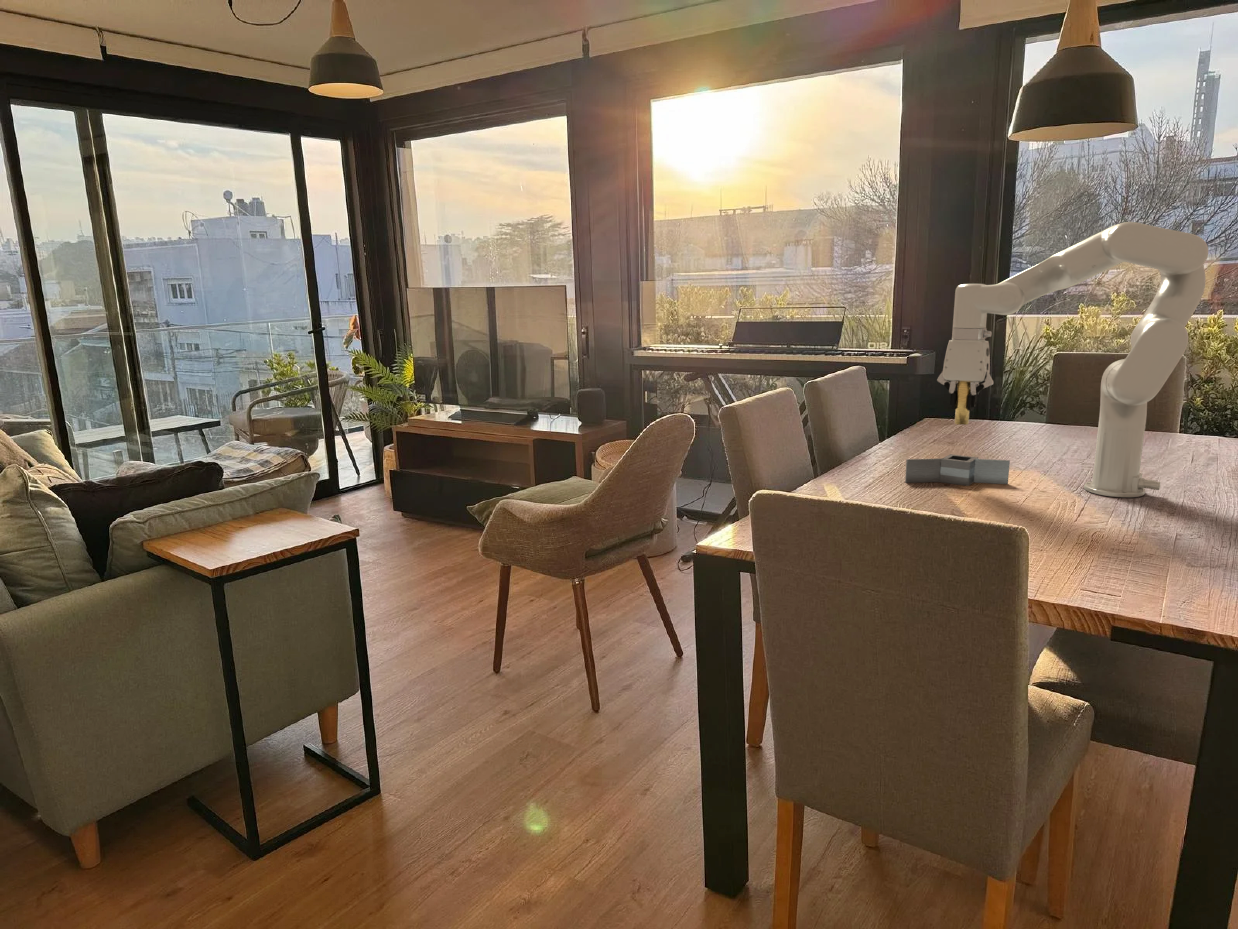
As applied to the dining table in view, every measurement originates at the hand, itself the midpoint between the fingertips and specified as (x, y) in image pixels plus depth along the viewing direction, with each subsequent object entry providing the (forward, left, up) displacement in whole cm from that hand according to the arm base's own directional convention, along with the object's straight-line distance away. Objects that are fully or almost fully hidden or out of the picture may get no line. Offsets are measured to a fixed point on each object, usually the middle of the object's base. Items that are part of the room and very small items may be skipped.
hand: (962, 408), depth 209 cm
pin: (0, 0, -4) cm, 4 cm away
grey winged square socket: (0, +2, -19) cm, 19 cm away
